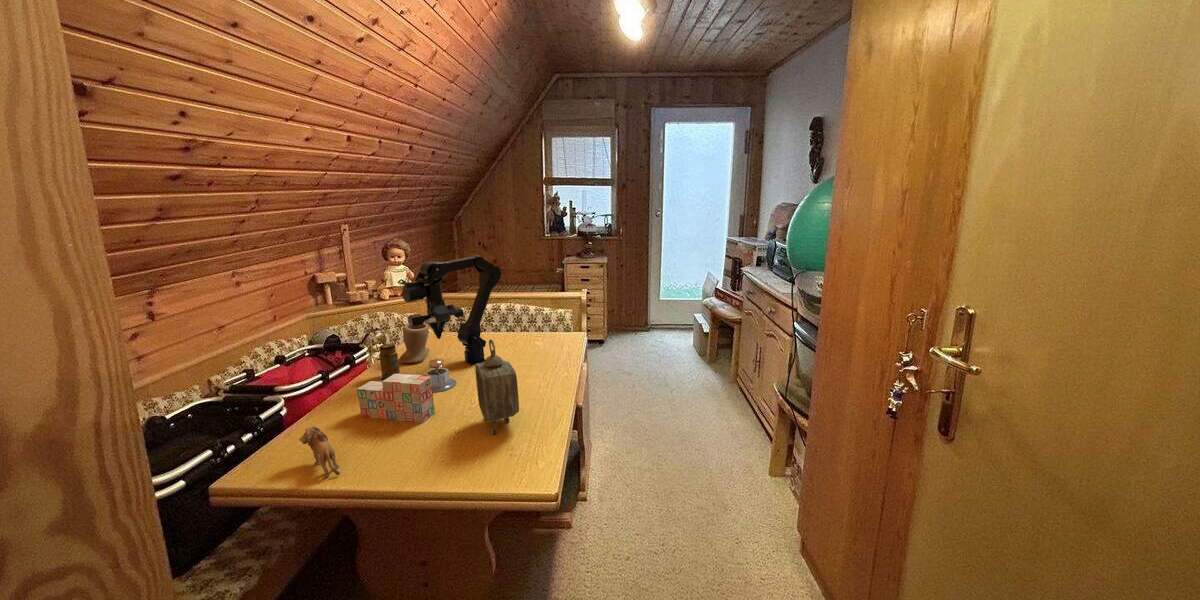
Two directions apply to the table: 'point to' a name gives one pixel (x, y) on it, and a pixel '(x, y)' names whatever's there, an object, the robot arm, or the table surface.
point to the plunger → (436, 364)
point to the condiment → (388, 361)
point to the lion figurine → (320, 449)
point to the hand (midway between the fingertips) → (438, 338)
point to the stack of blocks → (398, 398)
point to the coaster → (451, 385)
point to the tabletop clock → (496, 388)
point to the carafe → (439, 378)
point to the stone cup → (415, 343)
